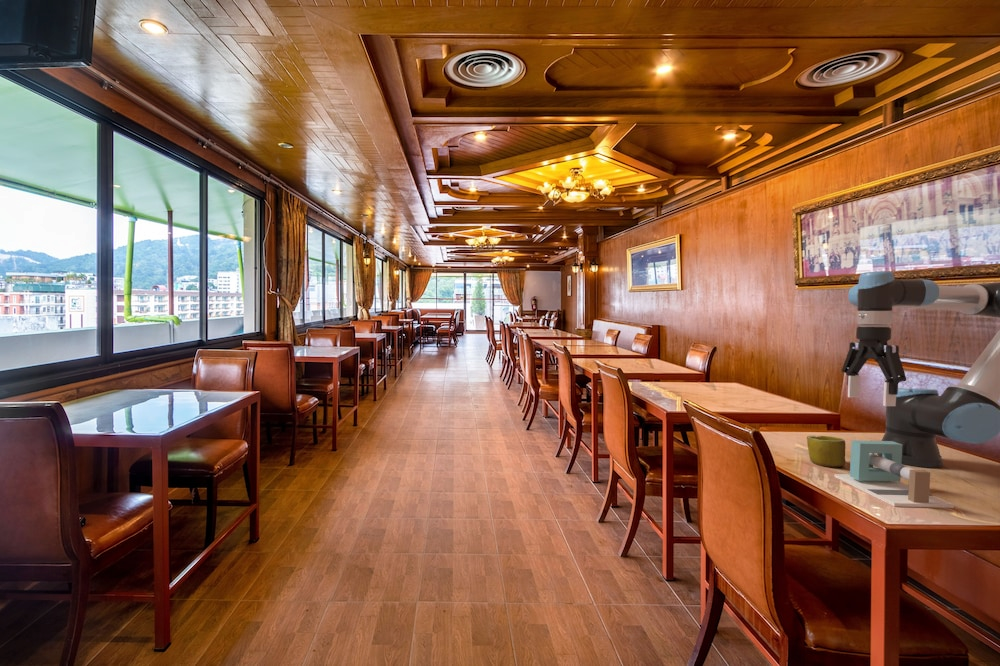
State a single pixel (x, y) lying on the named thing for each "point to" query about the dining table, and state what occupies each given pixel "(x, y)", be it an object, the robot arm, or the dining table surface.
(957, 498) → the dining table surface
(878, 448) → the collar
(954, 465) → the dining table surface
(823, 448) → the mug
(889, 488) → the pipe rail
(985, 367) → the robot arm
